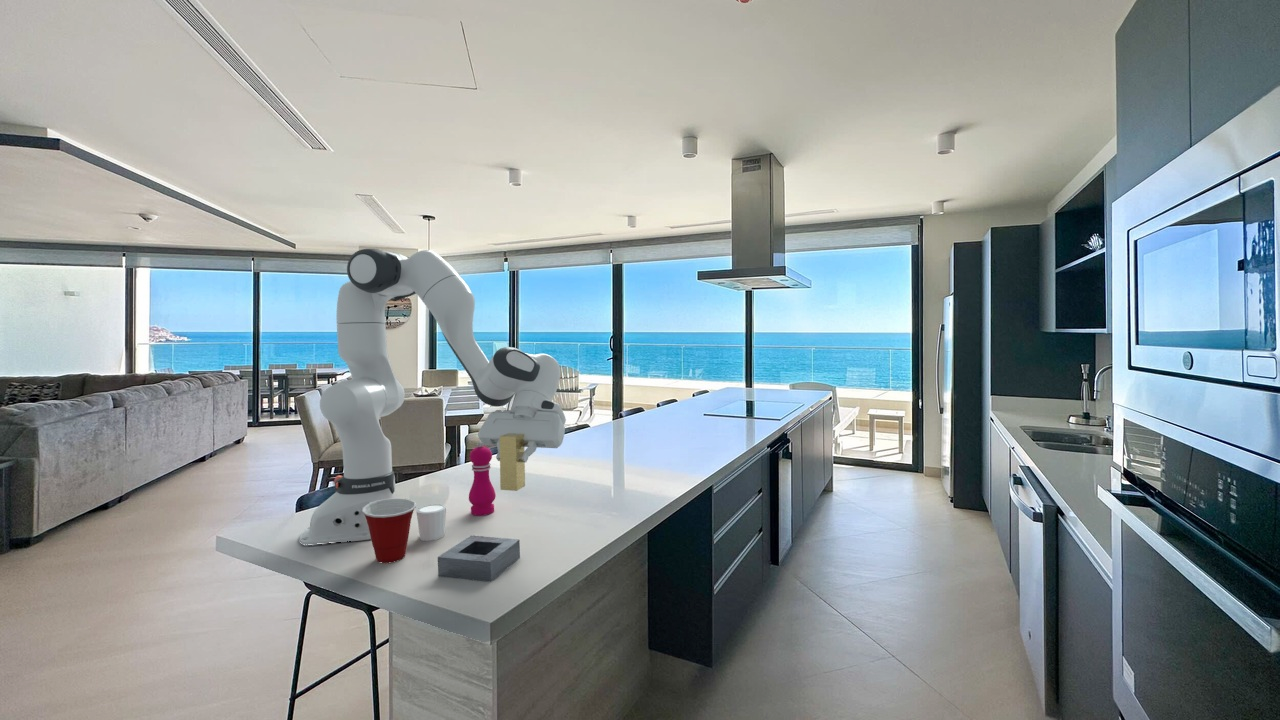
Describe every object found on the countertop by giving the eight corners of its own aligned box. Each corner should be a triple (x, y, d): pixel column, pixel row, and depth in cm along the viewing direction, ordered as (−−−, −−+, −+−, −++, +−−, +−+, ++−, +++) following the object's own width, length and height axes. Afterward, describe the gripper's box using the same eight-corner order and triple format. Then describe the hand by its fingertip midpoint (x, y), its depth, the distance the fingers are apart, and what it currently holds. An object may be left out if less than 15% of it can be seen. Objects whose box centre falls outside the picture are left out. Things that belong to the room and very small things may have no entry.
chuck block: (438, 576, 106) (437, 557, 106) (471, 553, 117) (471, 535, 117) (491, 582, 103) (490, 562, 103) (520, 557, 114) (519, 539, 114)
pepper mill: (489, 506, 151) (487, 437, 150) (500, 512, 146) (498, 441, 145) (465, 511, 147) (462, 441, 146) (475, 518, 141) (472, 444, 140)
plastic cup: (383, 573, 108) (380, 515, 108) (353, 562, 114) (351, 507, 113) (428, 554, 117) (426, 501, 117) (399, 545, 123) (397, 495, 123)
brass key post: (500, 489, 116) (499, 436, 116) (509, 484, 120) (508, 433, 120) (516, 490, 115) (515, 437, 115) (525, 486, 119) (524, 433, 119)
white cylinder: (411, 538, 127) (410, 509, 127) (436, 529, 133) (435, 502, 133) (428, 543, 124) (427, 514, 123) (453, 534, 129) (452, 506, 129)
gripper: (486, 402, 126) (463, 450, 117) (565, 404, 121) (548, 454, 112) (495, 417, 131) (475, 465, 122) (572, 420, 126) (556, 470, 117)
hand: (511, 460), depth 117 cm, fingers closed on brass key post, 4 cm apart
